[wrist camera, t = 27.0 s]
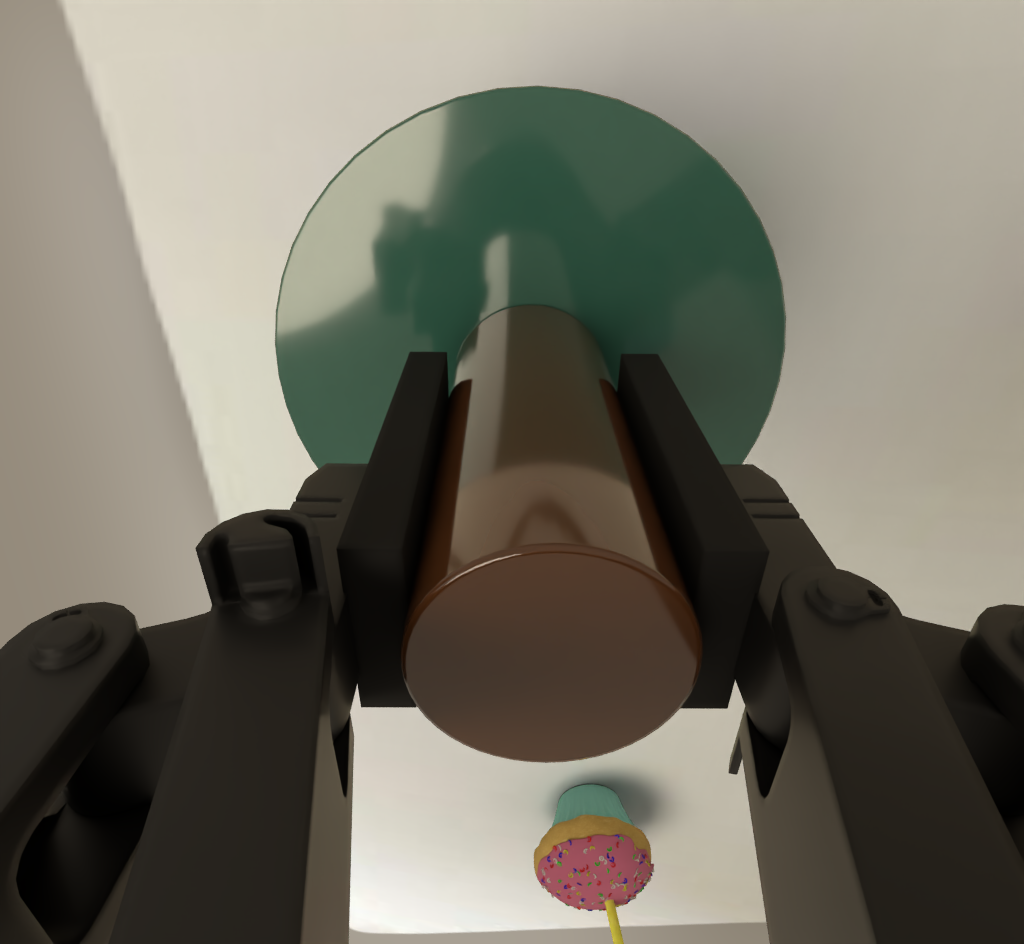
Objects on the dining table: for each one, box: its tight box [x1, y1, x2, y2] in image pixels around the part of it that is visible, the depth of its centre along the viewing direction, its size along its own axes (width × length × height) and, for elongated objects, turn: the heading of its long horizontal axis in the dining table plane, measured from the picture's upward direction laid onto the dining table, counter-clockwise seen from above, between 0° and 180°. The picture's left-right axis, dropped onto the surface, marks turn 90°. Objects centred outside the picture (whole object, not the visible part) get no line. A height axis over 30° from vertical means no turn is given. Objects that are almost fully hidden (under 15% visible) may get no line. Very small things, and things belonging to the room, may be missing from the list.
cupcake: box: [534, 784, 654, 944], centre depth 45 cm, size 9×8×12 cm
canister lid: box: [275, 86, 786, 763], centre depth 12 cm, size 12×12×10 cm
